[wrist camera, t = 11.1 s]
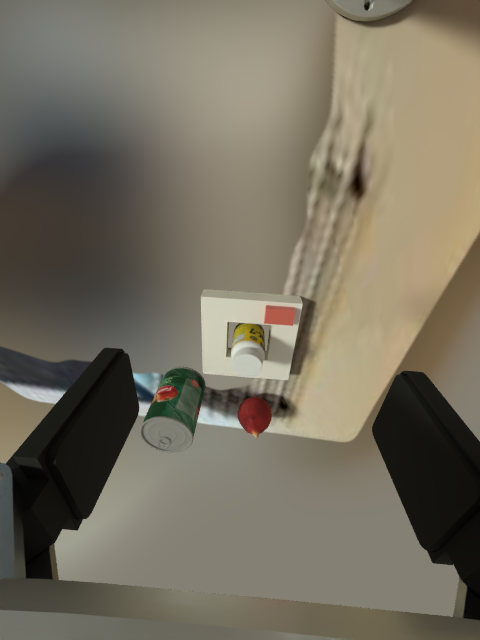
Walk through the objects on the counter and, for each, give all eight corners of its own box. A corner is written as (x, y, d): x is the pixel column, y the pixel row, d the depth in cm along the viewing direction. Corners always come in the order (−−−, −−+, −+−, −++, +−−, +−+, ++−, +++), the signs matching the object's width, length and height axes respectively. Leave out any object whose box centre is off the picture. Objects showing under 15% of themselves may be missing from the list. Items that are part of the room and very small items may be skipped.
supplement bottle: (270, 334, 42) (272, 369, 35) (247, 349, 44) (245, 385, 36) (250, 313, 40) (249, 346, 33) (227, 330, 42) (221, 364, 35)
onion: (236, 405, 51) (232, 443, 44) (243, 384, 48) (241, 421, 41) (265, 411, 51) (266, 450, 44) (274, 391, 48) (277, 428, 41)
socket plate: (204, 289, 39) (199, 299, 36) (300, 296, 38) (303, 307, 35) (205, 363, 46) (201, 377, 43) (286, 369, 45) (288, 384, 42)
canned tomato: (167, 361, 46) (143, 411, 36) (210, 374, 47) (198, 426, 37) (159, 391, 50) (136, 444, 40) (199, 403, 51) (186, 457, 41)
